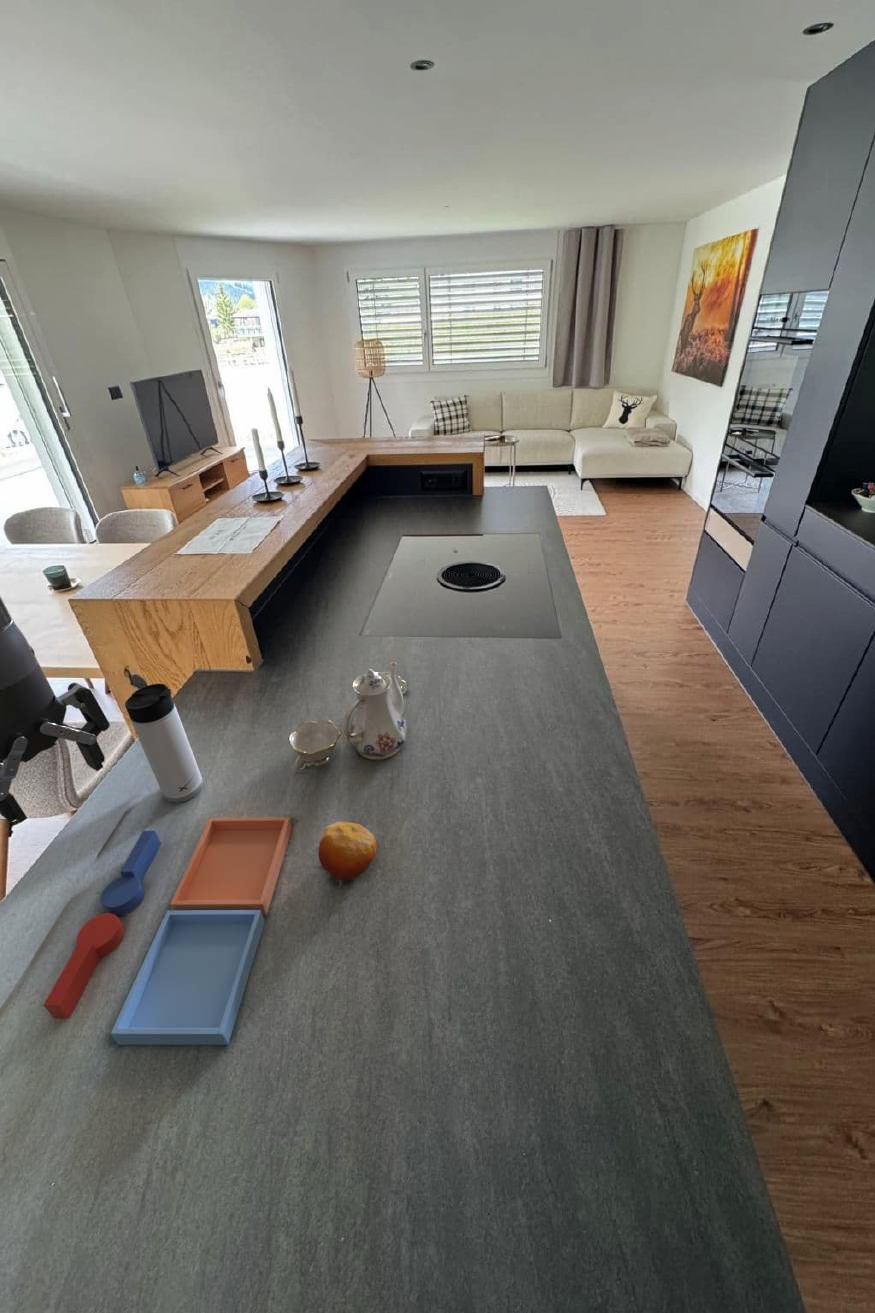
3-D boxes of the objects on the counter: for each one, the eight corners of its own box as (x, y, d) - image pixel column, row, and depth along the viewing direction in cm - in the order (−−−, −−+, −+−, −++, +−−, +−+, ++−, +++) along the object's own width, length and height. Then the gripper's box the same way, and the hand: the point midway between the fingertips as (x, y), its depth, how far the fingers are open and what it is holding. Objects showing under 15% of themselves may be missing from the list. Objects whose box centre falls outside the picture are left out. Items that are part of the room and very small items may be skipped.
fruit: (297, 869, 77) (314, 817, 75) (339, 856, 83) (355, 809, 82) (333, 904, 72) (352, 850, 71) (375, 888, 78) (393, 838, 77)
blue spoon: (139, 844, 83) (133, 830, 81) (171, 843, 83) (165, 830, 81) (98, 916, 73) (90, 902, 72) (134, 916, 73) (126, 902, 72)
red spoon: (82, 1018, 63) (71, 1005, 61) (41, 1018, 63) (29, 1005, 61) (131, 922, 73) (123, 908, 71) (95, 922, 73) (86, 908, 71)
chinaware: (377, 692, 116) (361, 621, 107) (446, 708, 107) (435, 632, 99) (283, 779, 96) (255, 699, 87) (359, 807, 87) (336, 722, 79)
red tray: (175, 916, 73) (169, 904, 72) (213, 829, 85) (209, 818, 84) (266, 915, 73) (262, 904, 71) (292, 828, 84) (289, 817, 83)
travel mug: (197, 803, 90) (159, 705, 79) (157, 803, 90) (113, 706, 79) (211, 775, 95) (177, 679, 84) (173, 775, 95) (134, 680, 84)
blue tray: (118, 1044, 60) (109, 1034, 59) (172, 921, 72) (166, 910, 71) (228, 1045, 60) (222, 1034, 59) (265, 921, 72) (260, 909, 71)
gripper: (44, 628, 60) (100, 742, 68) (-118, 700, 49) (-28, 823, 58) (84, 645, 56) (137, 763, 65) (-81, 726, 46) (8, 852, 55)
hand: (59, 791), depth 62 cm, fingers open, 8 cm apart
